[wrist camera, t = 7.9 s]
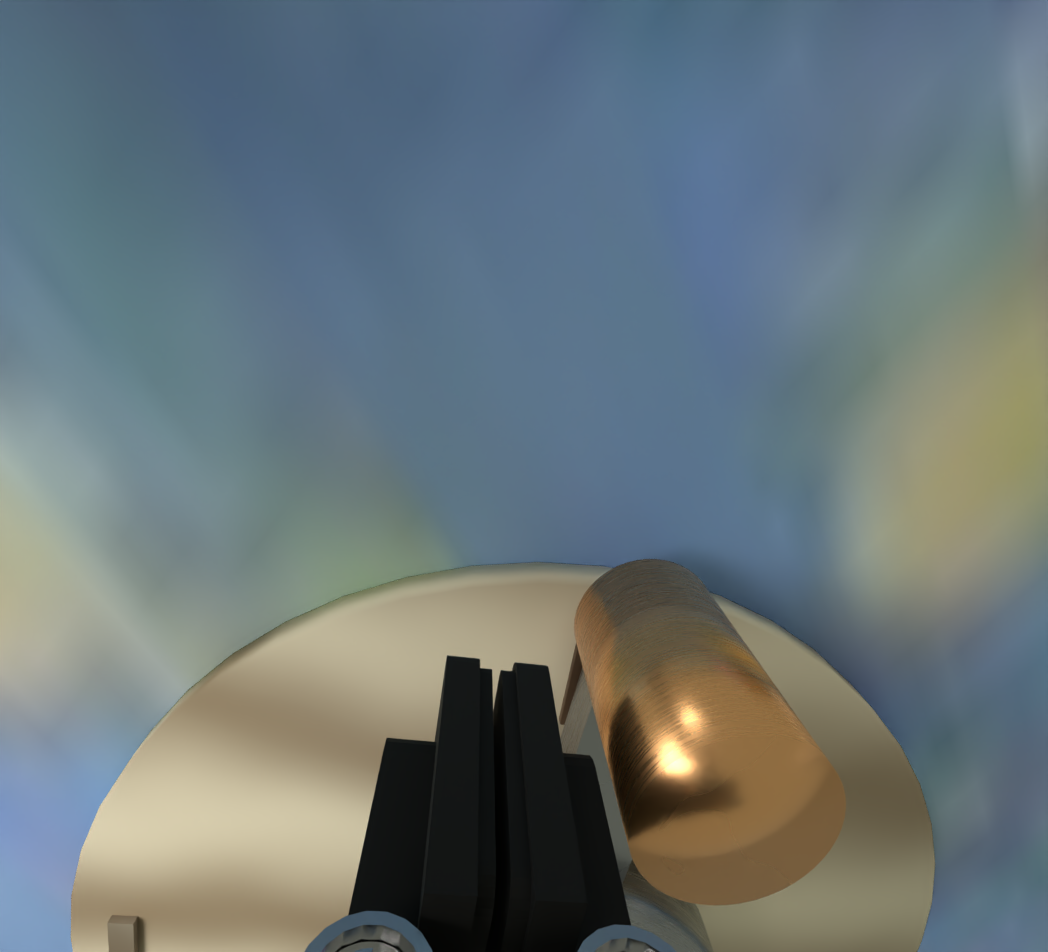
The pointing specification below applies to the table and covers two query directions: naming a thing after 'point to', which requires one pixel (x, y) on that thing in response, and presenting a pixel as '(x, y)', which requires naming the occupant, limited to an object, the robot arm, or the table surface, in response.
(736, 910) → the dial plate
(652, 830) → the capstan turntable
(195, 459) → the table surface
